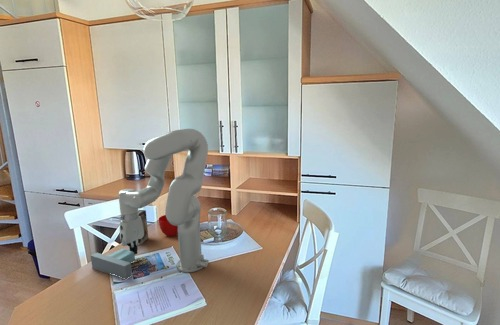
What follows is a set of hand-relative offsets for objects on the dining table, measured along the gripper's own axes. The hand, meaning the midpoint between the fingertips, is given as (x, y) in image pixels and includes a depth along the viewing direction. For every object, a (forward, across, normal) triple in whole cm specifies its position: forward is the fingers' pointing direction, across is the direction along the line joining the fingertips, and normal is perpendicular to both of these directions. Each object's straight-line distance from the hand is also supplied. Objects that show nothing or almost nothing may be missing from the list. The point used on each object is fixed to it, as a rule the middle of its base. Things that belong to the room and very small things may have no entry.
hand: (133, 253), depth 134 cm
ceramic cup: (+3, +29, +3) cm, 29 cm away
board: (+3, -12, -1) cm, 13 cm away
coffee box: (+3, +14, +14) cm, 20 cm away
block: (+3, -6, +1) cm, 7 cm away
